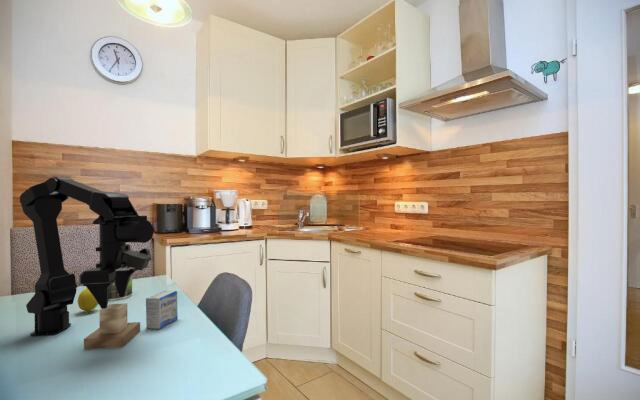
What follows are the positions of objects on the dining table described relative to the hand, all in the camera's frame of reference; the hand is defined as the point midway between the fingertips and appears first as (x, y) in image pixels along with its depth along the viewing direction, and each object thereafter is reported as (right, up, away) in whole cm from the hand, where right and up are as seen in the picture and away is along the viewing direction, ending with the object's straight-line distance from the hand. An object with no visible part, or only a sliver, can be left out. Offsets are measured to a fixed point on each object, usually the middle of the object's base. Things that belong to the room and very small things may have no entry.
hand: (113, 302), depth 80 cm
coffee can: (-23, -10, +36) cm, 44 cm away
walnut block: (0, -10, 0) cm, 10 cm away
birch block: (0, -7, 0) cm, 7 cm away
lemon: (-21, -10, +20) cm, 31 cm away
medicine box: (+7, -10, +10) cm, 16 cm away
